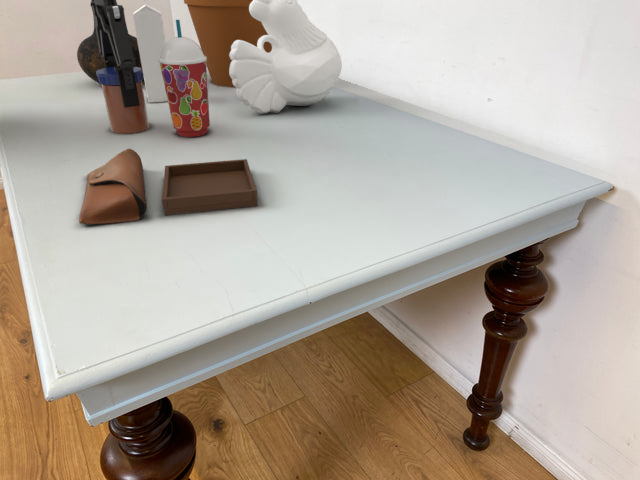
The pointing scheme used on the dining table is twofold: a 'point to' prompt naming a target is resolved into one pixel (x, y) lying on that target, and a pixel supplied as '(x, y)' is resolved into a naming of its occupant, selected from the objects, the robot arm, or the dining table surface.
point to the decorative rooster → (284, 60)
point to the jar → (125, 111)
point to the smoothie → (186, 85)
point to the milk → (151, 50)
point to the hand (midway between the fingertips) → (125, 100)
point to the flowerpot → (223, 33)
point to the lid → (115, 76)
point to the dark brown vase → (92, 58)
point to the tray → (208, 187)
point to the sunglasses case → (115, 191)
